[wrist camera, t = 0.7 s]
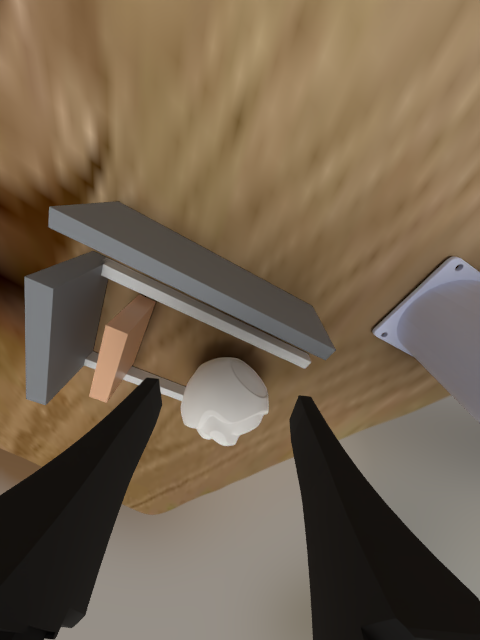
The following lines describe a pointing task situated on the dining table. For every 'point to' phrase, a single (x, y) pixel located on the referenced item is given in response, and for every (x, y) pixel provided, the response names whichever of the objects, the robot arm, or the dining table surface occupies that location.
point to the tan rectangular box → (120, 346)
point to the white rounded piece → (224, 400)
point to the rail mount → (160, 263)
